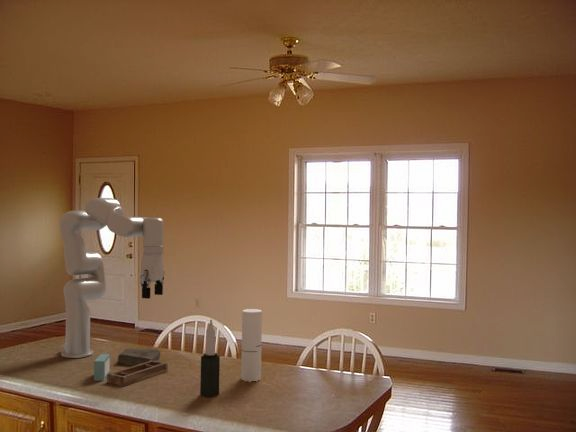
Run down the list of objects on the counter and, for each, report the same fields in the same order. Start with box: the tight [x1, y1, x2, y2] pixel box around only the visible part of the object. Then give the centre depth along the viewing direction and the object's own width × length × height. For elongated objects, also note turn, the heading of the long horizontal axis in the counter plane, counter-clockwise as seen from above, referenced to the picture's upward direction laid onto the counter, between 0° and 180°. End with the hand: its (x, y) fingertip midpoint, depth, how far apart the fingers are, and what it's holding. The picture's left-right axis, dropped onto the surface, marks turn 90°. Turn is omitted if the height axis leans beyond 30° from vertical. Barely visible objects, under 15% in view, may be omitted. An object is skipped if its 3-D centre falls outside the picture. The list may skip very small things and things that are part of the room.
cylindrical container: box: [240, 308, 263, 383], centre depth 206 cm, size 7×7×25 cm
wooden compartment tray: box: [106, 360, 169, 387], centre depth 207 cm, size 8×22×3 cm, turn 151°
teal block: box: [93, 353, 111, 382], centre depth 206 cm, size 4×10×7 cm, turn 5°
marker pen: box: [199, 319, 221, 398], centre depth 188 cm, size 5×5×25 cm
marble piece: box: [117, 348, 161, 367], centre depth 227 cm, size 17×15×4 cm
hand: (152, 296), depth 212 cm, fingers open, 9 cm apart
